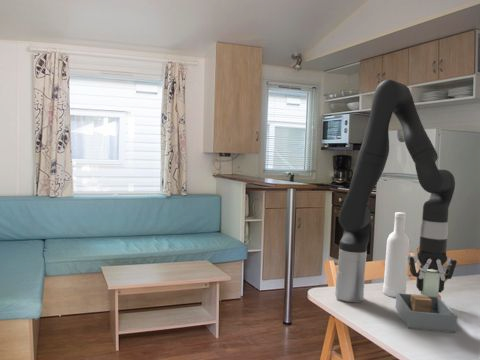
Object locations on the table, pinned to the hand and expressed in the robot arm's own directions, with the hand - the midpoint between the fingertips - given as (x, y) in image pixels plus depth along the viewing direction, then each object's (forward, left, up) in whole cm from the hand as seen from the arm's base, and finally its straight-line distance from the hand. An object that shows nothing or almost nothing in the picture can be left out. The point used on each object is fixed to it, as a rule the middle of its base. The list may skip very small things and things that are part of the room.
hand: (429, 290), depth 134 cm
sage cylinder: (0, 0, -1) cm, 1 cm away
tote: (0, +3, -10) cm, 11 cm away
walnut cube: (0, +7, -9) cm, 12 cm away
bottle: (-4, +26, -10) cm, 28 cm away
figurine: (+9, +19, -10) cm, 23 cm away
